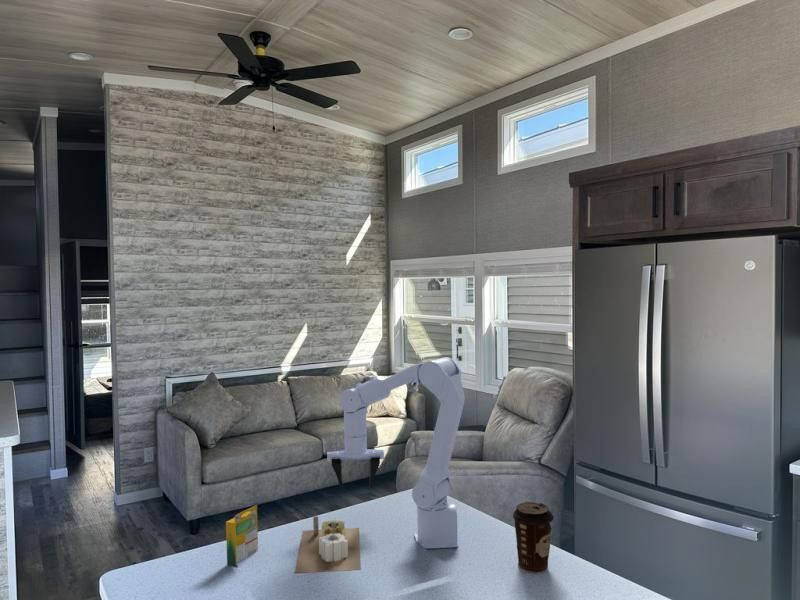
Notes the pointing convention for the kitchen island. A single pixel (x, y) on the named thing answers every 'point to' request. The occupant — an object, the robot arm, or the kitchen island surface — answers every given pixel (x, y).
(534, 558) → the coffee cup
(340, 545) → the nylon gear
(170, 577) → the kitchen island surface
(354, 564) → the gear board
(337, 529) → the brass gear
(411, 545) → the kitchen island surface
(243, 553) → the crayon box
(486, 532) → the kitchen island surface
